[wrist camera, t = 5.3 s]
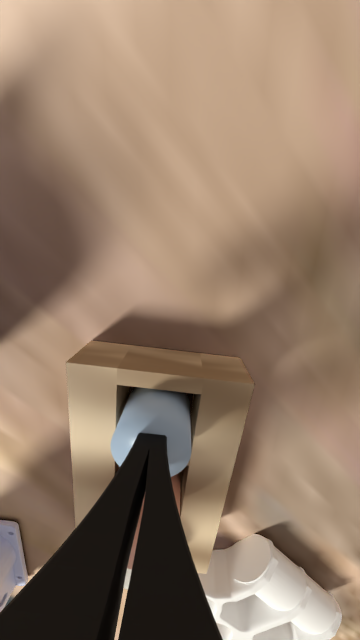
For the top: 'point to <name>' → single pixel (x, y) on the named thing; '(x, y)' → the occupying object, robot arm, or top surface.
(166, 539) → the robot arm
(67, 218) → the top surface
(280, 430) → the top surface
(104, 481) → the wooden compartment tray
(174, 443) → the pale blue rounded lump
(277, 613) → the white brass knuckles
